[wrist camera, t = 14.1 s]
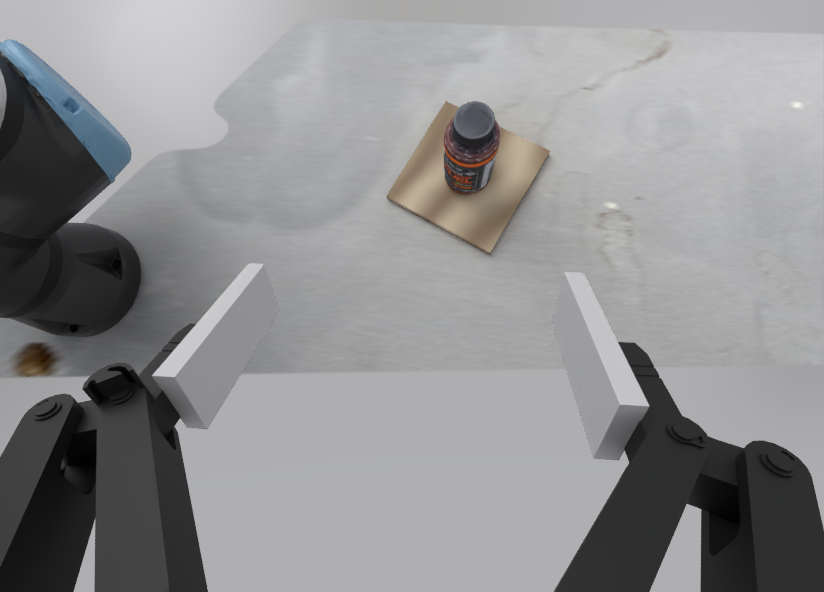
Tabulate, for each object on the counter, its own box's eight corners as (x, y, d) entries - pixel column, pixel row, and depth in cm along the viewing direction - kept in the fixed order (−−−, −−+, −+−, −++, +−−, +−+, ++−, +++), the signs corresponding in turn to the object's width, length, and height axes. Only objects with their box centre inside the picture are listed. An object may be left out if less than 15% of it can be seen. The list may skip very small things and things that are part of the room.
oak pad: (387, 199, 48) (386, 196, 47) (446, 105, 49) (445, 101, 48) (489, 254, 45) (490, 252, 45) (548, 154, 47) (550, 151, 46)
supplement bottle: (436, 186, 47) (432, 135, 35) (455, 146, 47) (456, 82, 36) (480, 203, 46) (490, 156, 35) (498, 161, 46) (514, 101, 35)
